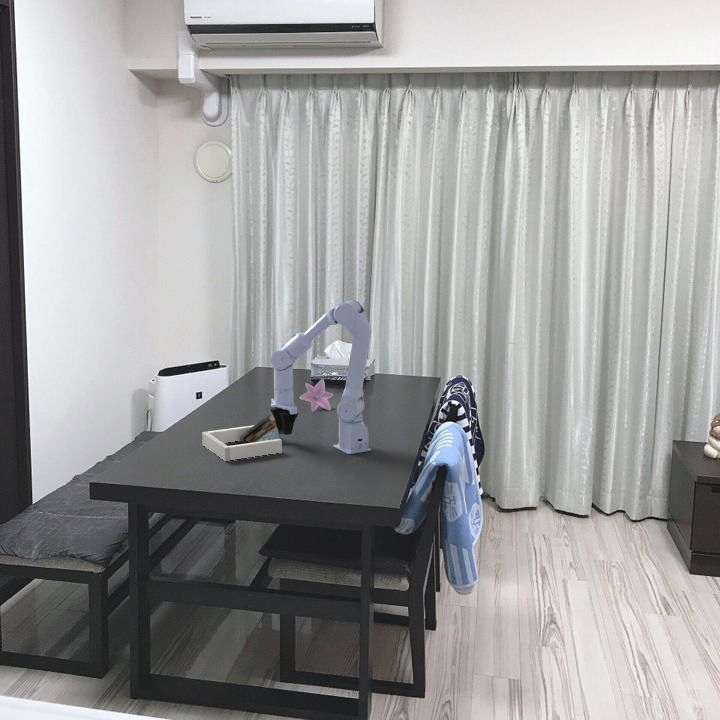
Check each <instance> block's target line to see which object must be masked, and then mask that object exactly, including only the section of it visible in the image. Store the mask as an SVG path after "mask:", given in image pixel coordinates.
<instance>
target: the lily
mask: <svg viewBox="0 0 720 720" xmlns="http://www.w3.org/2000/svg"><path fill="white" fill-rule="evenodd" d="M304 384H305V388H306V390H307V392H306V391H305V393H303V394H301V395H300V396H299V399H300V400H303V401H306V402H309V403H310V409H311V412H312V413H313V412H315V411H316V410H317V409H318V407H319V406H320V407H321V408H323V409H325V410H327V411H331V410H332V408H331V404H330V402H329V399H330V398H332V397H333V396H334V395H335V394H334V393H332V392H329V391H326V385H325V380H324V378H322V379H320V380H319V381H318V382H317V383H316V384H315V385H314V386H313V385H312V384H309V383H307V382H305V383H304Z"/></svg>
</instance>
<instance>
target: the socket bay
mask: <svg viewBox="0 0 720 720" xmlns="http://www.w3.org/2000/svg"><path fill="white" fill-rule="evenodd" d="M254 425H255V424H253V425H248V426H238V427H231V428H226V429H225V428H224V429H223V428H222V429H216V430H208V431H202V432H201V435H202V436H201V438H202V439H201V441H202V443H201V445H202V446H203V447H204V446H205V448H206V450H208V449H209V450H208V451H210V452H211V453H212V454H214V453H215V454H216V455H215V454H214V455H215V456H217V457H218V456H219V457H220V458H219V457H218V458H219V459H221V460H222V459H223V460H224V461H223V460H222V461H223V462H225V461H228V462H231V461H230V460H234V461H236V460H235V459H241V458H247V459H249V458H248V457H254V458H256V457H255V456H260V457H263V456H262V455H267V456H269V455H268V454H273V455H277V454H276V453H279V454H283V441H282V439H281V438H279V439H274V440H267V441H260V442H253V443H249V442H248V443H247V442H246V443H241V444H235V445H234V444H233V445H227V444H229V443H228V442H231V443H236V442H235V441H238V442H241V441H240V436H241V435H242V434H243V433H244V432H246V431H248V430H249V429H250V428H251V427H253V426H254ZM241 460H242V459H241Z"/></svg>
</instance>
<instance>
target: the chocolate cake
mask: <svg viewBox="0 0 720 720" xmlns="http://www.w3.org/2000/svg"><path fill="white" fill-rule="evenodd" d="M270 417H271V416H270V414H268V415H267V416H265V417H264V418H263V419H261V420H259V421H258V422H256V423H255V424H253V425H254V426H253V427H251V428H250V429H249V430H248V431H246V432H244V433H243V434H242V435H241V436H240V441H239V442H241V443H247V442H248V443H253V442H260V441H267V440H274V439H280V433H279V432H280V431H278V429H277V427H275V426H274V425H273V424H272V423H271V420H270Z"/></svg>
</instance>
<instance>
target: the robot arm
mask: <svg viewBox="0 0 720 720" xmlns="http://www.w3.org/2000/svg"><path fill="white" fill-rule="evenodd" d="M338 324H339V325H341V326H343V327H344V328H345V329H347V331H348V332H350V334H351V335H352V336H353V337H352V343H351V347H350V348H351V349H350V355H349V361H348V362H349V363H348V368H347V373H346V380H345V381H346V382H345V387H344V390H343V393H342V394H341V399H340V402H339V403H337V406H336V414H337V417H338V443H337V444H333V445H332V447H333V448H335V449H337V450H339V451H341V452H343V453H344V454H346V455H352V454H358V453H364V452H371V451H372V448H370V447H369V429H368V427H367V426H366V424H365V423H364V417H363V414H362V413H363V411H364V410H365V406H366V403H365V400H364V390H363V386H364V381H365V375H366V374H365V373H366V368H367V364H368V363H367V362H368V356H369V350H370V349H369V348H370V343H371V337H372V328H371V325H370V322H369V319H368V317H367V313H366V309H365V307H364V306H363V305H362V304H361V303H360V302H359V301H357V299H347V300H346V301H343V302H340V303H339V304H336V306H335V307H333V308H331V309H330V310H328V311H326V312H325V313H324V314H323V315H322V316H321V317H320V318H319V319H318V320H316V322H315V323H314V324H312V326H311V327H309V328H308V329H307V330H306V331H305V332H297V333H293V334H292V335H291V339H289V340H288V341H287V342H286V343H284V344H281V346H280V349H279V350H276V351H274V352H273V354H272V355H271V358H270V364H271V365H272V367H273V390H274V391H273V393H274V395H273V396H274V398H271V400H270V401H271V403H270V407H271V408H270V412H271V413H272V416H274V419H275V422H276V426H277V429H278V432H282V431H283V434H284V435H285V436H289V435H292V434H293V429H294V424H295V422H296V420H297V417H298V415H299V412H298V407H297V406H296V405H295V402H294V369H293V366H294V364H295V362H296V361H297V360H299V358H301V357H302V356H303V355H304V354H306V352H308V351H309V350H310V349H311V348H312V346H313V340H315V339H316V338H317V337H318V336H320V335H321V334H322V333H323V332H324V331H326V330H327V329H329V327H331V326H335V325H338Z"/></svg>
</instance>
